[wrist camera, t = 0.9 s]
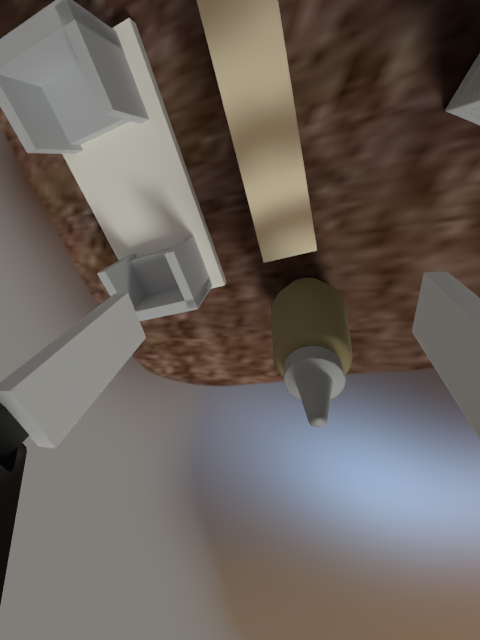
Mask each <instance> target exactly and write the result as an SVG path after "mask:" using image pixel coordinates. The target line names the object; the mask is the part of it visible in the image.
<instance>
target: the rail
mask: <svg viewBox="0 0 480 640" xmlns="http://www.w3.org/2000/svg"><path fill="white" fill-rule="evenodd" d="M197 4H198V8H199V12H200V16H201V20H202V24H203V27H204V31H205V35H206V39H207V43H208V47H209V51H210V55H211V59H212V63H213V67H214V70H215V74H216V78H217V82H218V86H219V90H220V94H221V98H222V102H223V106H224V110H225V113H226V117H227V121H228V125H229V129H230V133H231V137H232V141H233V145H234V149H235V153H236V156H237V160H238V164H239V168H240V172H241V176H242V180H243V184H244V188H245V192H246V196H247V200H248V203H249V207H250V211H251V215H252V219H253V223H254V227H255V231H256V235H257V239H258V243H259V246H260V250H261V254H262V258H263V262H264V263H265V262H270V261H274V260H278V259H283V258H287V257H291V256H296V255H300V254H304V253H309V252H313V251H317V247H316V240H315V234H314V228H313V221H312V215H311V208H310V202H309V196H308V189H307V183H306V176H305V170H304V164H303V157H302V151H301V145H300V138H299V132H298V125H297V119H296V113H295V106H294V100H293V93H292V87H291V81H290V74H289V68H288V61H287V55H286V49H285V42H284V36H283V30H282V23H281V17H280V10H279V4H278V0H197Z"/></svg>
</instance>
